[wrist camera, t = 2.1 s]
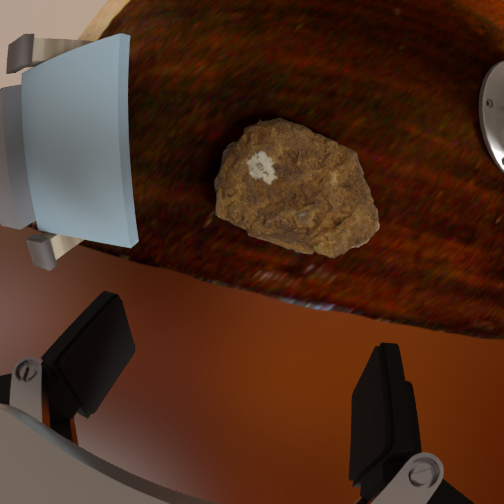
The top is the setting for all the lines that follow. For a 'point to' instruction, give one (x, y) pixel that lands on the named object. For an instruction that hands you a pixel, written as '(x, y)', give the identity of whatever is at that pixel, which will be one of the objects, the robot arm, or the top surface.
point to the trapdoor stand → (19, 57)
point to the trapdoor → (70, 146)
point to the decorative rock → (295, 189)
